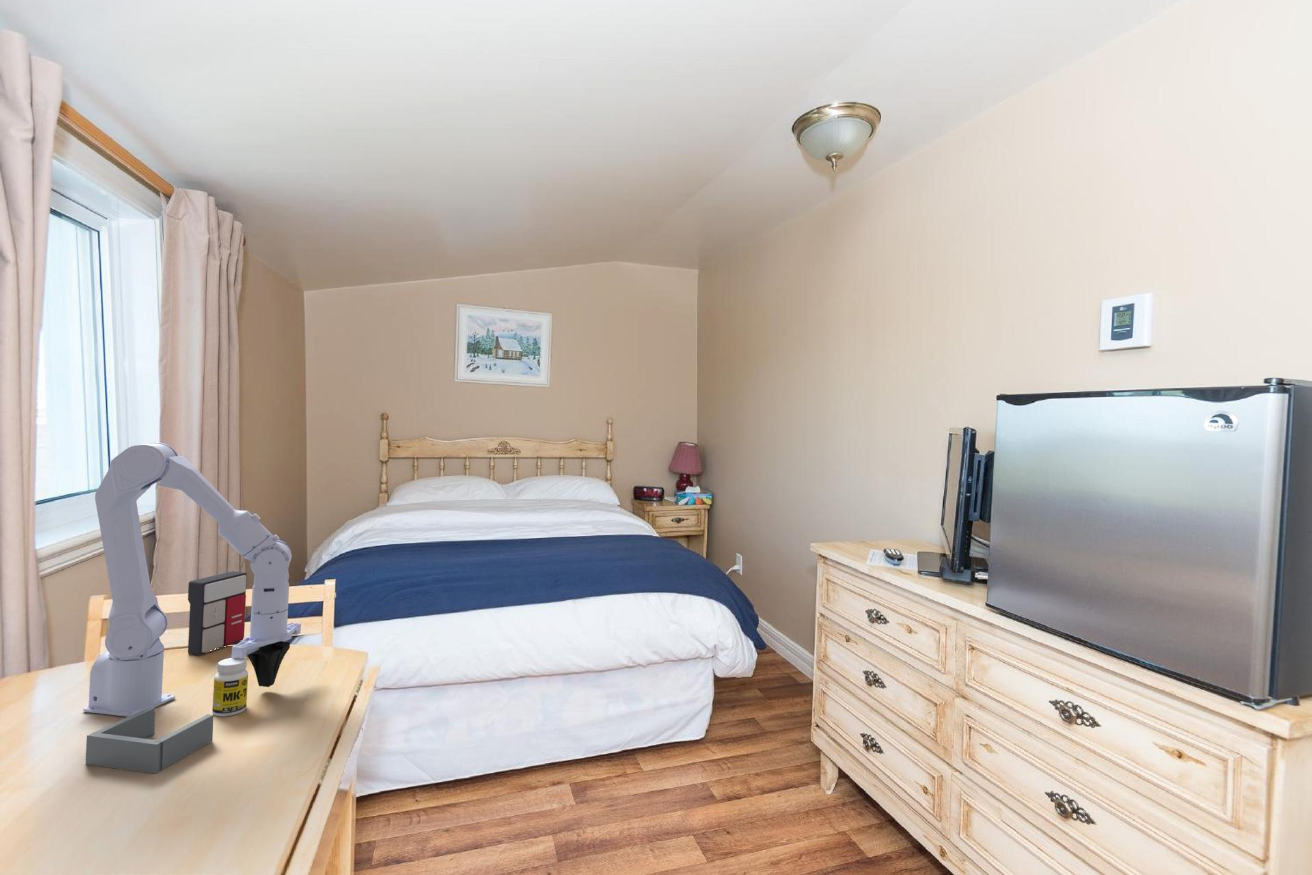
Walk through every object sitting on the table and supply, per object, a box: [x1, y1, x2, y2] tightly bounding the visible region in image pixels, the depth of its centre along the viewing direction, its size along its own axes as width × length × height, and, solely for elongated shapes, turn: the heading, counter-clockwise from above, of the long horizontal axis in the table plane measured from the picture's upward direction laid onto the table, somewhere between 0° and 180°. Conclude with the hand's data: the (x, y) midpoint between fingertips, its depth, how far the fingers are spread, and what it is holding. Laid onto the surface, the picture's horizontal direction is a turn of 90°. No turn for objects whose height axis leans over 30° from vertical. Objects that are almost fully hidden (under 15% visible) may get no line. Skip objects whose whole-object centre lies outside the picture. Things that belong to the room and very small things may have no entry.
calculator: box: [187, 570, 247, 656], centre depth 136 cm, size 11×4×15 cm, turn 168°
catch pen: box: [85, 707, 215, 775], centre depth 93 cm, size 11×10×4 cm
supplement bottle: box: [211, 657, 249, 718], centre depth 107 cm, size 5×5×8 cm
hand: (266, 685), depth 115 cm, fingers closed
